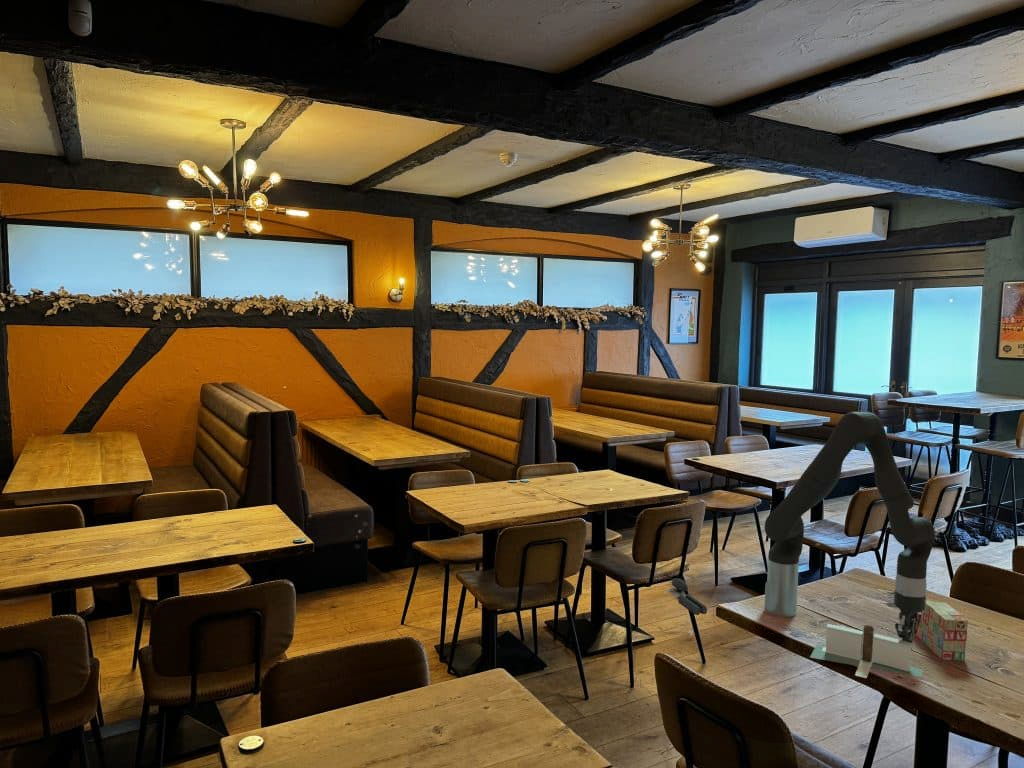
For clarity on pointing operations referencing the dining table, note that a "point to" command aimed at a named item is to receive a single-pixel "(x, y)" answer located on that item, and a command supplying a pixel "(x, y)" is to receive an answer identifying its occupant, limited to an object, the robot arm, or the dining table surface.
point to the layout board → (859, 663)
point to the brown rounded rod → (867, 643)
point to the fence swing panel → (891, 652)
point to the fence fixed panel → (844, 641)
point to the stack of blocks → (943, 630)
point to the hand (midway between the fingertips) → (906, 651)
